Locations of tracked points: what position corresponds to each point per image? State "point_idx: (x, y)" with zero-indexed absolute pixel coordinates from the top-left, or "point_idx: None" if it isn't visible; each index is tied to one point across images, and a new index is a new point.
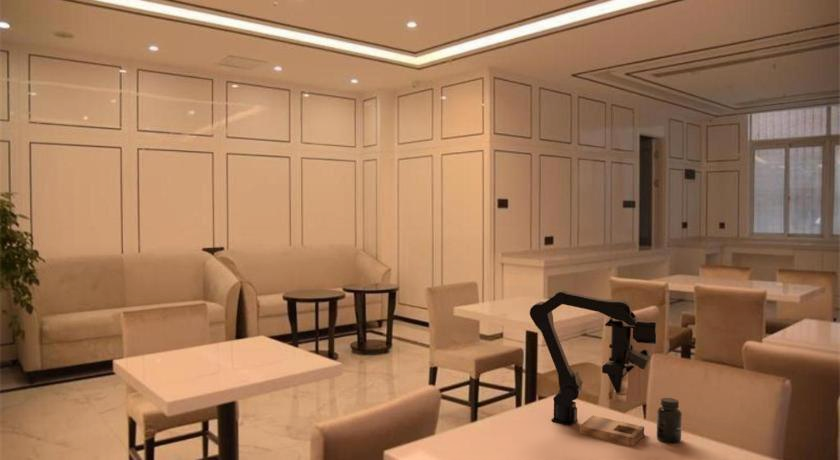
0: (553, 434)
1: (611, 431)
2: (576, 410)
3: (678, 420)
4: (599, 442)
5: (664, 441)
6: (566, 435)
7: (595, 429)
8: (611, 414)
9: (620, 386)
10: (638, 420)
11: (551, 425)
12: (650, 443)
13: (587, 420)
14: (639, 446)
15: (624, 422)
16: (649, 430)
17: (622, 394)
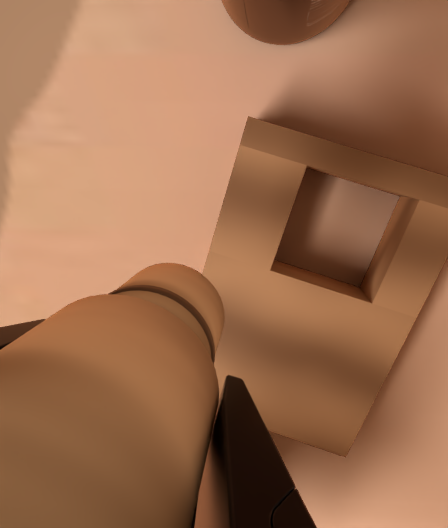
0: (379, 521)
1: (395, 311)
2: None
3: None
4: (432, 348)
5: None
6: (376, 476)
7: (378, 388)
8: (20, 286)
9: (273, 443)
10: (41, 153)
11: None
12: (381, 86)
13: None
14: (445, 151)
15: (216, 237)
16: (170, 91)
17: (207, 331)
